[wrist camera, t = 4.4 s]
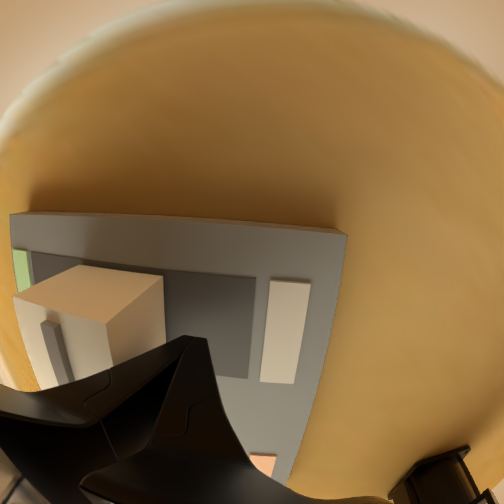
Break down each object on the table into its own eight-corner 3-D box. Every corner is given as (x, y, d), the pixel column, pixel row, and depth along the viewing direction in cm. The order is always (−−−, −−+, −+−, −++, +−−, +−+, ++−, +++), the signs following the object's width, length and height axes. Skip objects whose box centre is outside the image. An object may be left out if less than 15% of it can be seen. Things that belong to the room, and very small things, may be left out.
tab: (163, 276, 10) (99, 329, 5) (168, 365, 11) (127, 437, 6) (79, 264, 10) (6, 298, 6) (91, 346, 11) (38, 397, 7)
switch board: (337, 229, 11) (348, 235, 9) (280, 482, 14) (280, 499, 13) (27, 211, 11) (7, 214, 10) (83, 437, 15) (74, 449, 14)
